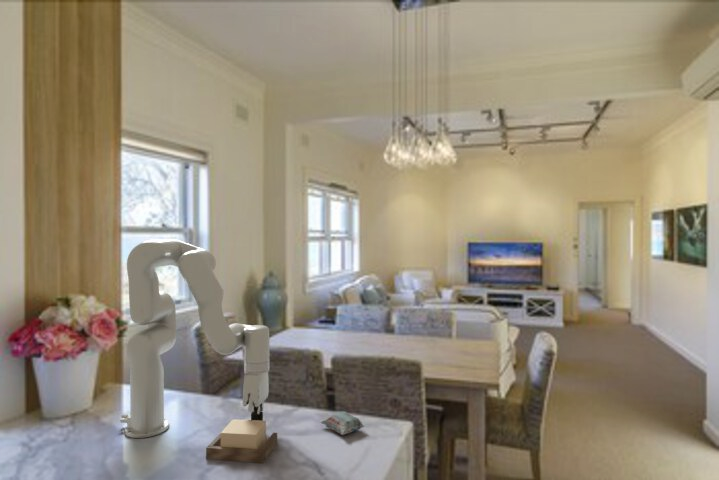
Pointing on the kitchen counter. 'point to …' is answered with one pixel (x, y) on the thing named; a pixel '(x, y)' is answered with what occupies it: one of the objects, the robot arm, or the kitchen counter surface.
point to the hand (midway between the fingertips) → (256, 425)
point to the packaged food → (343, 423)
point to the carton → (244, 434)
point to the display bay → (240, 451)
